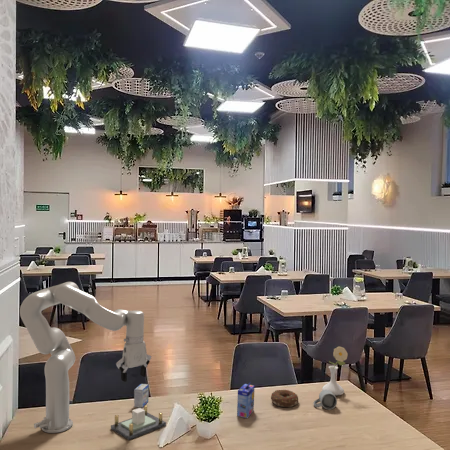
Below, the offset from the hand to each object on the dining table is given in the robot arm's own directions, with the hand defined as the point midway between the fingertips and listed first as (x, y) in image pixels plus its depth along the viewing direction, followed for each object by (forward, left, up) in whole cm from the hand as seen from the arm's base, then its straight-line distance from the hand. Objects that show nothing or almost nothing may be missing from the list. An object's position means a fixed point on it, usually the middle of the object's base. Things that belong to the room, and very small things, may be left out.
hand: (133, 378), depth 192 cm
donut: (+68, -31, -21) cm, 77 cm away
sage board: (+1, -3, -19) cm, 19 cm away
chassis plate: (+1, -3, -21) cm, 21 cm away
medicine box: (+16, +17, -21) cm, 31 cm away
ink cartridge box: (+45, -26, -21) cm, 56 cm away
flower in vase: (+97, -42, -21) cm, 108 cm away
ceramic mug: (+79, -47, -21) cm, 94 cm away
